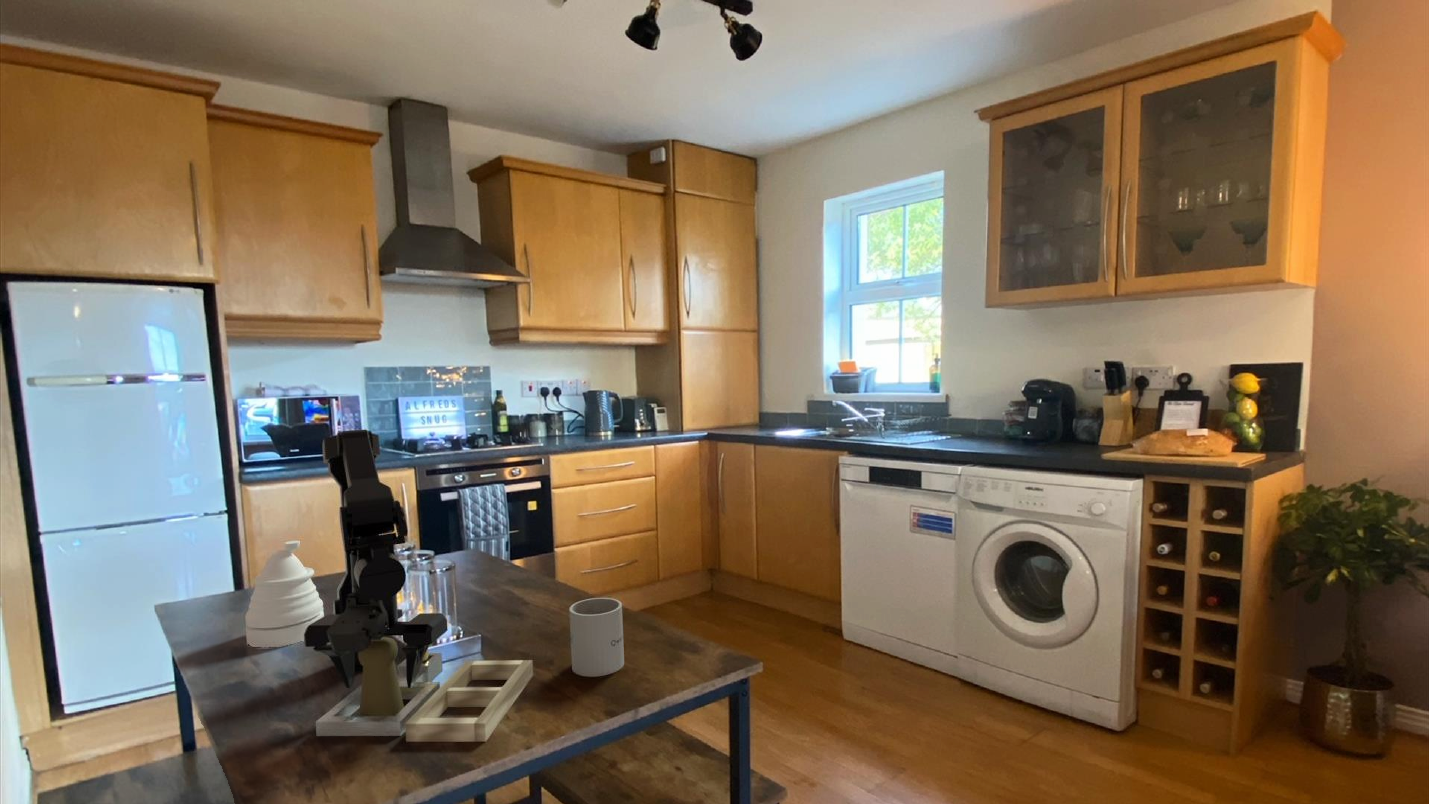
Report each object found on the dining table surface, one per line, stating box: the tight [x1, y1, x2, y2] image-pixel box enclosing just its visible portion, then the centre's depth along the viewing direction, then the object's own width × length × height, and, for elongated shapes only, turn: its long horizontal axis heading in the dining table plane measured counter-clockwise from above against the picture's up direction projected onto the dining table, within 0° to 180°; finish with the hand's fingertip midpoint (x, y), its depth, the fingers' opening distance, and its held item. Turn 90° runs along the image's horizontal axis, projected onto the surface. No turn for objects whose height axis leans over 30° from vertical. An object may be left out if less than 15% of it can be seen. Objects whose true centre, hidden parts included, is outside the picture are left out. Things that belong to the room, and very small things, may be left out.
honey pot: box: [244, 540, 325, 649], centre depth 134 cm, size 13×13×18 cm
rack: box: [405, 659, 534, 743], centre depth 104 cm, size 11×20×2 cm, turn 177°
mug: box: [568, 597, 625, 678], centre depth 118 cm, size 12×9×10 cm
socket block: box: [315, 652, 444, 737], centre depth 106 cm, size 12×20×3 cm, turn 177°
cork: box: [358, 637, 405, 716], centre depth 102 cm, size 6×6×11 cm
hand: (380, 687), depth 102 cm, fingers open, 9 cm apart
